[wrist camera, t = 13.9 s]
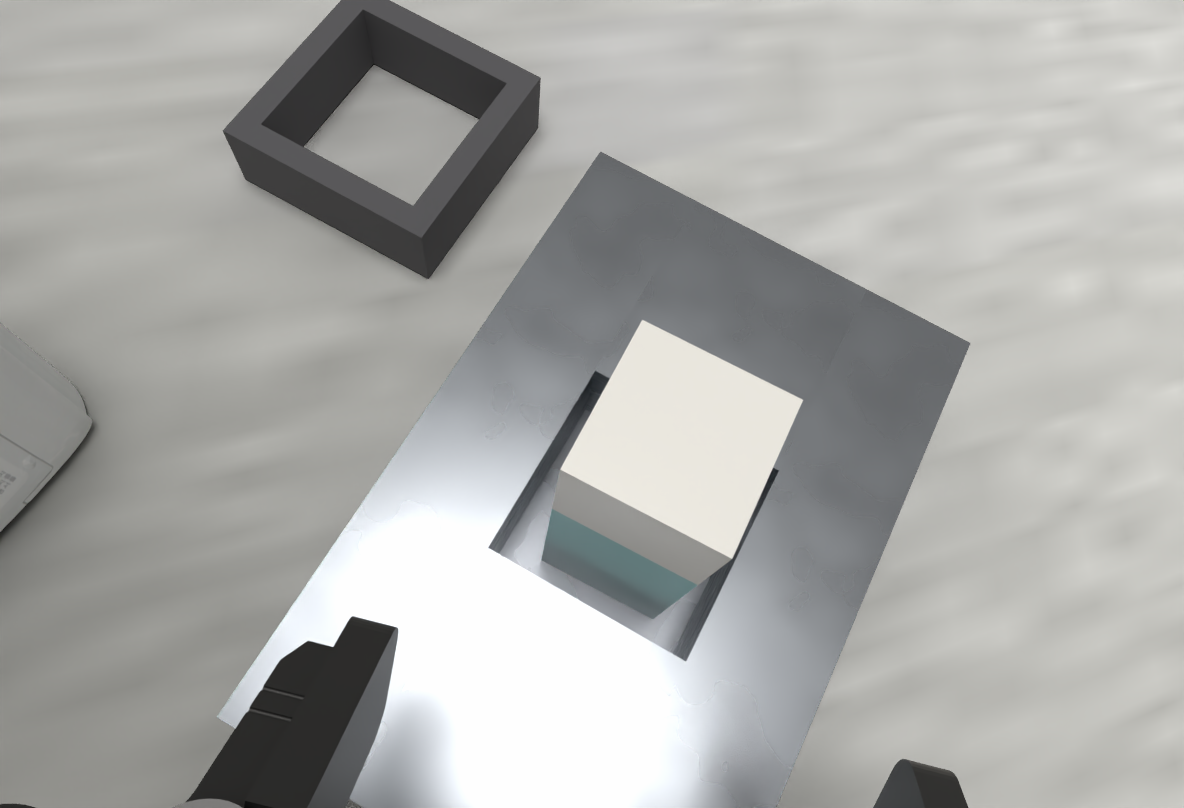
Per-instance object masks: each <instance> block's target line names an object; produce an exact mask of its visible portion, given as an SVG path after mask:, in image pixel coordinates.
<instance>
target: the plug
mask: <svg viewBox="0 0 1184 808" xmlns="http://www.w3.org/2000/svg"><path fill="white" fill-rule="evenodd" d="M802 401H803V400H802V399H800V398H798V397H796V396H794V395H792V394H790V393H788V392H786V391H784V390H782V389H780V388H778V387H776V386H774V385H772V384H770V383H768V382H766V381H764V380H762V379H760V378H758V377H756V376H754V375H752V374H750V373H748V372H746V371H744V370H742V369H740V368H738V367H736V366H734V365H732V364H730V363H728V362H726V361H724V360H722V359H720V358H718V357H716V356H714V355H712V354H710V353H708V352H706V351H704V350H702V349H700V348H698V347H696V346H694V345H692V344H690V343H688V342H686V341H684V340H682V339H680V338H678V337H676V336H674V335H672V334H670V333H668V332H666V331H664V330H662V329H660V328H658V327H656V326H654V325H652V324H650V323H648V322H646V321H644V320H642V321H641V323H640V325H639V327H638V329H637V330H636V332H635V334H634V336H633V338H632V339H631V341H630V343H629V345H628V347H627V349H626V350H625V352H624V354H623V356H622V358H621V360H620V361H619V363H618V365H617V367H616V369H615V370H614V372H613V374H612V376H611V378H610V380H609V381H608V383H607V385H606V387H605V389H604V390H603V392H602V394H601V396H600V398H599V400H598V401H597V403H596V405H595V407H594V409H593V411H592V412H591V414H590V416H589V418H588V420H587V421H586V423H585V425H584V427H583V429H582V431H581V432H580V434H579V436H578V438H577V440H576V441H575V443H574V445H573V447H572V449H571V451H570V452H569V454H568V456H567V458H566V460H565V462H564V463H563V465H562V467H561V469H560V472H559V477H558V482H557V487H556V492H555V496H554V501H553V506H552V511H551V515H550V520H549V525H548V530H547V535H546V539H545V544H544V549H543V554H542V559H541V560H542V561H544V562H546V563H547V564H549V565H551V566H553V567H555V568H557V569H559V570H561V571H563V572H564V573H566V574H568V575H570V576H572V577H574V578H576V579H578V580H580V581H581V582H583V583H585V584H587V585H589V586H591V587H593V588H595V589H596V590H598V591H600V592H602V593H604V594H606V595H608V596H610V597H612V598H613V599H615V600H617V601H619V602H621V603H623V604H625V605H627V606H629V607H630V608H632V609H634V610H636V611H638V612H640V613H642V614H644V615H646V616H647V617H649V618H651V619H654V618H655V617H657V616H658V615H659V614H661V613H662V612H663V611H665V610H666V609H667V608H668V607H670V606H671V605H672V604H674V603H675V602H676V601H678V600H679V599H680V598H682V597H683V596H684V595H686V594H687V593H688V592H689V591H691V590H692V589H693V588H695V587H696V586H697V585H699V584H700V583H701V582H703V581H704V580H705V579H707V578H708V577H709V576H710V575H712V574H713V573H714V572H716V571H717V570H718V569H720V568H721V567H722V566H724V565H725V564H726V563H728V562H729V561H730V560H731V559H732V558H733V556H734V554H735V552H736V549H737V547H738V545H739V543H740V540H741V538H742V536H743V534H744V531H745V529H746V527H747V525H748V522H749V520H750V518H751V516H752V513H753V511H754V509H755V507H756V505H757V502H758V500H759V498H760V496H761V493H762V491H763V489H764V487H765V484H766V482H767V480H768V478H769V475H770V473H771V471H772V469H773V466H774V464H775V462H776V460H777V457H778V455H779V453H780V451H781V449H782V446H783V444H784V442H785V440H786V437H787V435H788V433H789V431H790V428H791V426H792V424H793V422H794V419H795V417H796V415H797V413H798V410H799V408H800V406H801V404H802Z"/></svg>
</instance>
